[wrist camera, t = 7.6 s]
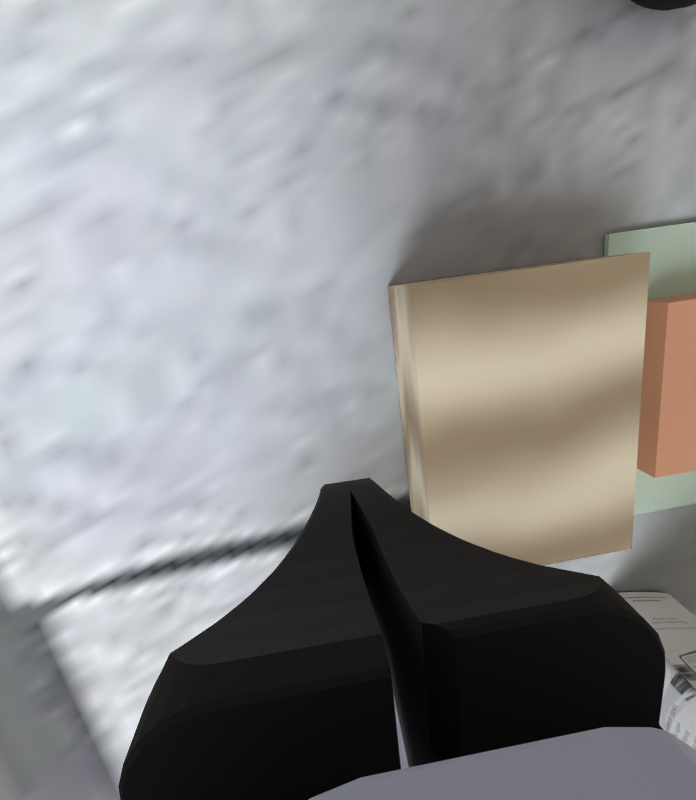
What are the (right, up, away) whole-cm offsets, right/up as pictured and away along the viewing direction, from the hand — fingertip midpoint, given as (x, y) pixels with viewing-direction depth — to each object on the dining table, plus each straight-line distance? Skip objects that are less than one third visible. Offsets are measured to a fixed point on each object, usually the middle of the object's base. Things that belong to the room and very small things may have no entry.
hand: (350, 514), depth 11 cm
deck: (+8, +3, +11) cm, 14 cm away
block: (+18, +4, +10) cm, 21 cm away
